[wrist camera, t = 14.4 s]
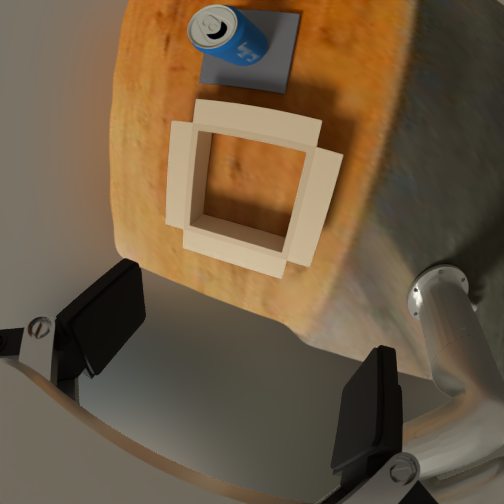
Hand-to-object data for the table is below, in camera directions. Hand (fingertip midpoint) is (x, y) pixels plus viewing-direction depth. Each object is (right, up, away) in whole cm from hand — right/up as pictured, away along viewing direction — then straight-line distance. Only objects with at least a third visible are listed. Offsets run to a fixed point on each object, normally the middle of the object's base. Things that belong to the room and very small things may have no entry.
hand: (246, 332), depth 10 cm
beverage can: (-1, +32, +21) cm, 38 cm away
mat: (0, +32, +21) cm, 39 cm away
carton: (0, +14, +32) cm, 34 cm away
